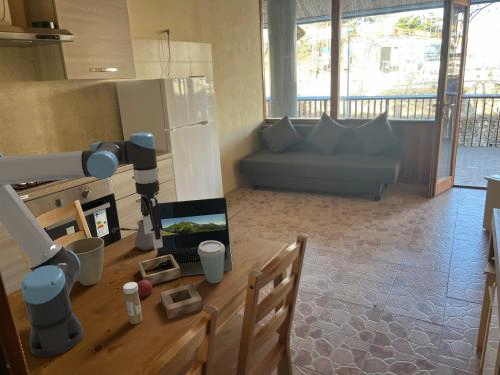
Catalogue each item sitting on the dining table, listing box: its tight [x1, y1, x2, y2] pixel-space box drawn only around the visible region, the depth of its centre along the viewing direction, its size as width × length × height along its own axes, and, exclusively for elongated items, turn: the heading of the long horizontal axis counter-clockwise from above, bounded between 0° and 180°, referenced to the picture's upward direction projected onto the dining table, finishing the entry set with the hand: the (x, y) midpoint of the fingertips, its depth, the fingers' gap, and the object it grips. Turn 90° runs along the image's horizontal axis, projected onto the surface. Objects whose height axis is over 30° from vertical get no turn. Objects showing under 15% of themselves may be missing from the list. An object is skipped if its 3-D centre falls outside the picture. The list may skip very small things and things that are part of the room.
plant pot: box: [63, 236, 105, 287], centre depth 154 cm, size 15×15×16 cm
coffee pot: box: [111, 219, 155, 251], centre depth 178 cm, size 21×12×15 cm, turn 137°
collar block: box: [159, 283, 204, 320], centre depth 136 cm, size 12×12×4 cm
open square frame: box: [137, 254, 182, 286], centre depth 158 cm, size 14×14×4 cm
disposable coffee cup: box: [197, 240, 226, 284], centre depth 149 cm, size 11×11×15 cm
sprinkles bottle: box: [122, 281, 144, 325], centre depth 128 cm, size 5×5×14 cm
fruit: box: [136, 279, 153, 298], centre depth 143 cm, size 6×6×8 cm
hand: (153, 240), depth 133 cm, fingers open, 13 cm apart
